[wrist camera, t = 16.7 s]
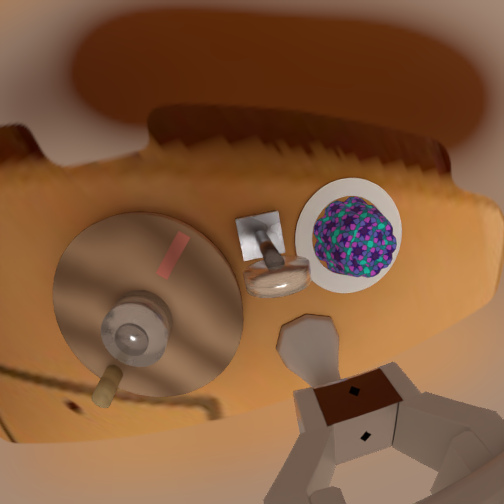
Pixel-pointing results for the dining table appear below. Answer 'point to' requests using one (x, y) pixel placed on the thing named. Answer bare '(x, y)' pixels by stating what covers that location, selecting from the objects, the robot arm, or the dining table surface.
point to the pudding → (349, 235)
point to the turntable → (160, 283)
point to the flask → (310, 349)
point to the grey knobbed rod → (270, 258)
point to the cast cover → (137, 328)
